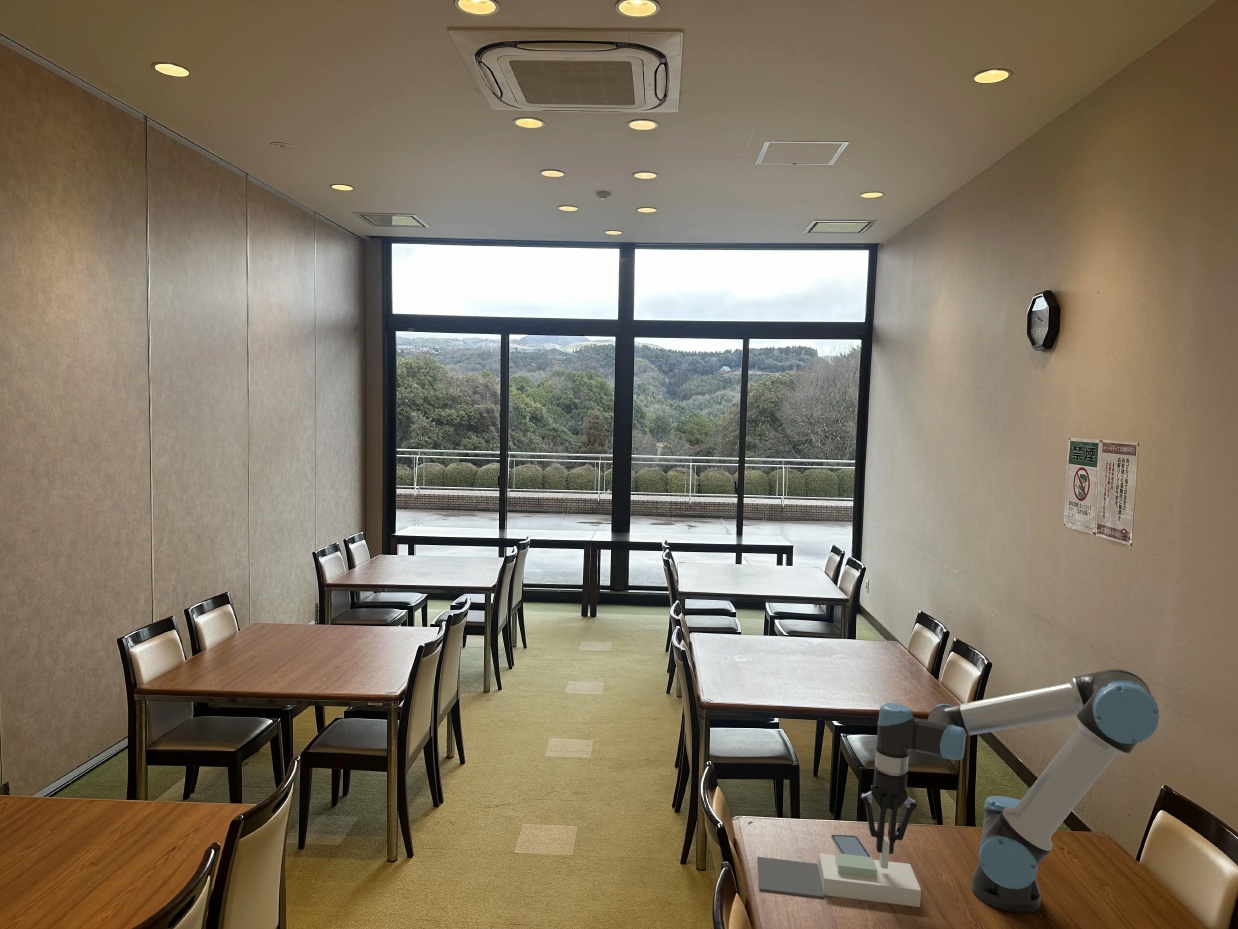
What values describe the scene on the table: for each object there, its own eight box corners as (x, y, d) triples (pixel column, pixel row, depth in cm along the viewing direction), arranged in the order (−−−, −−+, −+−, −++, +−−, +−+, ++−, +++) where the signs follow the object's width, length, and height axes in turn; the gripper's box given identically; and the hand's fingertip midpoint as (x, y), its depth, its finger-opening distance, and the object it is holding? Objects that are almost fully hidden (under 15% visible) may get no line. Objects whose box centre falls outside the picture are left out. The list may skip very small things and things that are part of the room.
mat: (817, 865, 206) (817, 863, 206) (824, 898, 191) (824, 896, 191) (757, 858, 208) (757, 856, 208) (759, 890, 193) (759, 888, 193)
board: (908, 879, 202) (909, 864, 202) (919, 907, 190) (921, 890, 190) (818, 868, 205) (818, 853, 205) (823, 895, 193) (824, 878, 193)
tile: (872, 865, 200) (872, 857, 200) (876, 878, 194) (877, 870, 194) (834, 861, 201) (835, 853, 201) (837, 873, 195) (838, 865, 195)
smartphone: (856, 835, 223) (875, 863, 208) (856, 839, 223) (875, 866, 208) (829, 834, 223) (847, 862, 208) (829, 838, 223) (847, 865, 208)
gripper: (915, 766, 199) (908, 861, 200) (860, 760, 201) (853, 854, 201) (922, 779, 191) (914, 877, 192) (865, 772, 193) (858, 870, 194)
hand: (883, 865), depth 197 cm, fingers closed
